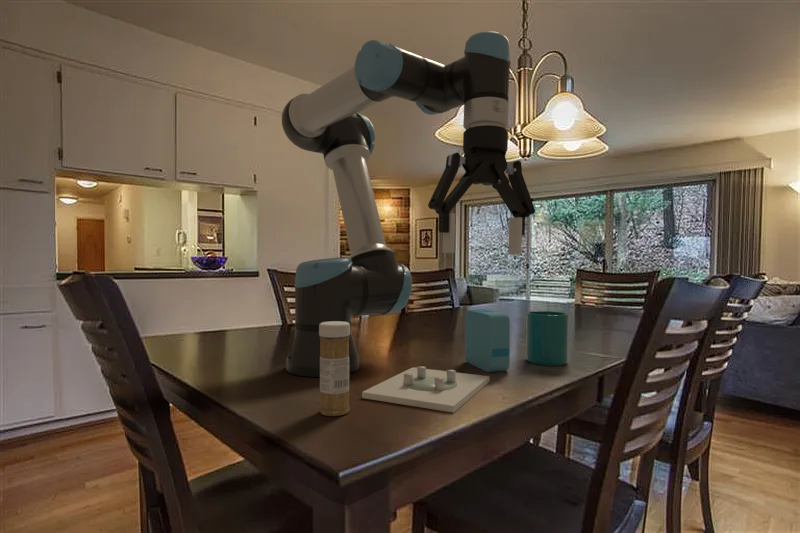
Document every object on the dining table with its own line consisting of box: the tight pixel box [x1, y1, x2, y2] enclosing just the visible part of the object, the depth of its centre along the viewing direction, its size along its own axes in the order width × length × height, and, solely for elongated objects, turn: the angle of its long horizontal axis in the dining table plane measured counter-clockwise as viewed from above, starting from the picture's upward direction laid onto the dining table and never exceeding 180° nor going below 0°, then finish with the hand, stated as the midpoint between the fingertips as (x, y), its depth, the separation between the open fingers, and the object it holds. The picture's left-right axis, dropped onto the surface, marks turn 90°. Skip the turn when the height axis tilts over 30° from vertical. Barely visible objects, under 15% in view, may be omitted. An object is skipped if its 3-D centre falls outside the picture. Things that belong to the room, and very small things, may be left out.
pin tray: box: [361, 365, 490, 413], centre depth 80 cm, size 16×20×3 cm
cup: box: [525, 310, 569, 367], centre depth 104 cm, size 9×12×11 cm
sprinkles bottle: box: [318, 321, 351, 417], centre depth 67 cm, size 5×5×14 cm
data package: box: [464, 309, 511, 373], centre depth 98 cm, size 12×4×12 cm, turn 17°
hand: (482, 254), depth 78 cm, fingers open, 13 cm apart
